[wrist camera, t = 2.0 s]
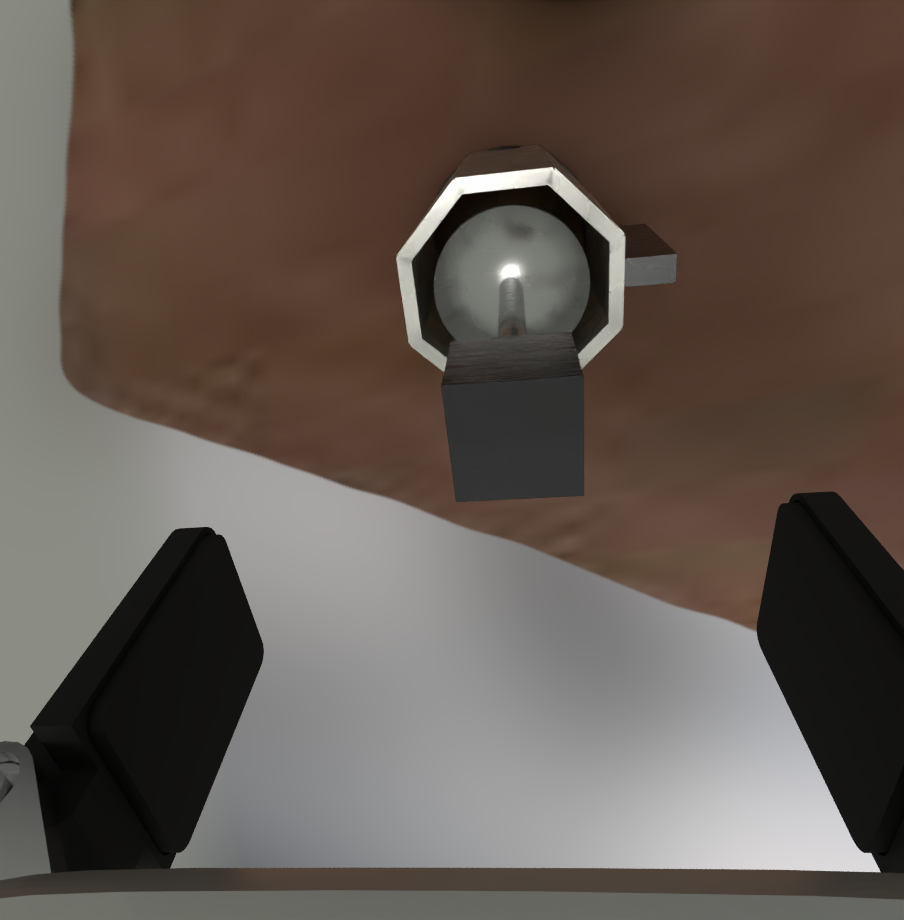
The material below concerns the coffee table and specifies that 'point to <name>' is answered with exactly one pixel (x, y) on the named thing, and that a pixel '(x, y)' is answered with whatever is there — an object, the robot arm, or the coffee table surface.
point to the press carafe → (559, 192)
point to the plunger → (513, 354)
